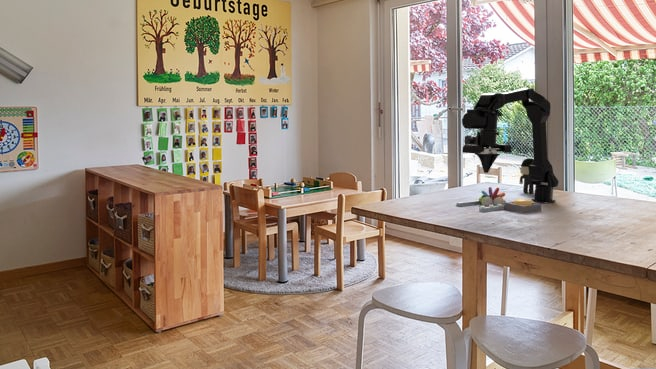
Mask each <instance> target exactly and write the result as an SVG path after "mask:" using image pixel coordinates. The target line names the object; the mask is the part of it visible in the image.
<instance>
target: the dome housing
mask: <svg viewBox="0 0 656 369" xmlns="http://www.w3.org/2000/svg"><path fill="white" fill-rule="evenodd" d="M542 204H543V203H540V202H535V201H532V205H524V206H523V205H518V204H514V200H512V201H506V202H504V209H503V210H506V211H510V212H515V213H520V214H528V213H536V212H537V213H538V212H542V210H543V209H542V208H543V205H542Z"/></svg>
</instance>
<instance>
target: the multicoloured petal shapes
mask: <svg viewBox="0 0 656 369" xmlns="http://www.w3.org/2000/svg"><path fill="white" fill-rule="evenodd" d="M499 192H500V188H499V187H496V188H495V190H494V191H493V187H492V186H489V187H488V193H487V192H486V191H485V190H482V191H481V194H482V195H481V196H480V197H479V199H478V200H479V202H481V203H482V204H481V206H485V207H489V205H493V206H497V204H502V205H504V202H507V201H506V200H505V199H503V198H504V197H505V196H506V193H505V192H501V193H499Z"/></svg>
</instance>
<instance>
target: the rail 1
mask: <svg viewBox="0 0 656 369" xmlns="http://www.w3.org/2000/svg"><path fill="white" fill-rule="evenodd" d="M476 205H482V203H481V202H479V199H477V200H469V201H460V202H456V206H457V207H464V206H465V207H467V206H476Z"/></svg>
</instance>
